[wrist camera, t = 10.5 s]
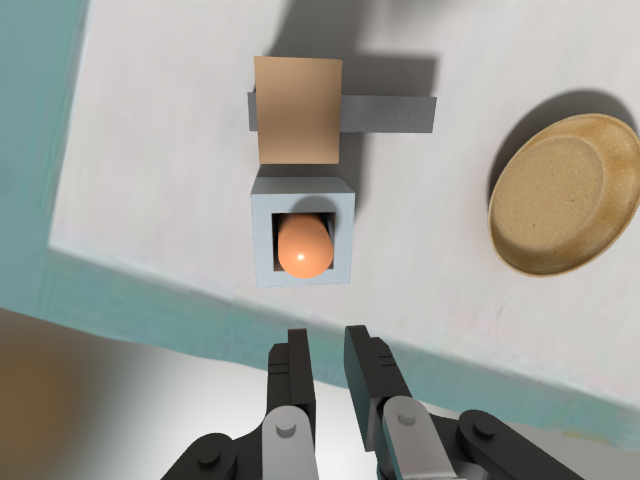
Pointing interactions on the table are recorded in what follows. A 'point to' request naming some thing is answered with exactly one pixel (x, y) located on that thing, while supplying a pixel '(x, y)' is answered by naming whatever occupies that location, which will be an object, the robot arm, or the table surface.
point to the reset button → (303, 244)
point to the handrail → (376, 113)
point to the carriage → (298, 109)
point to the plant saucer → (566, 195)
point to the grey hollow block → (300, 198)
